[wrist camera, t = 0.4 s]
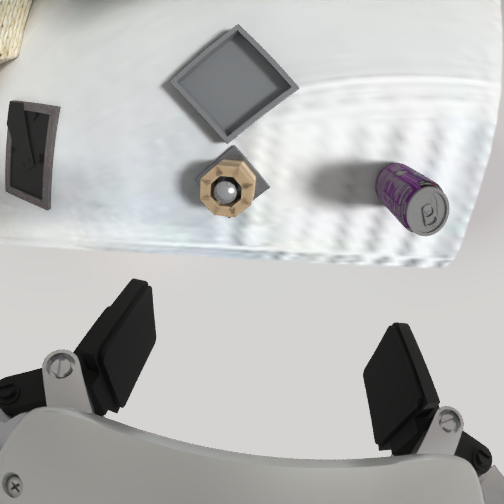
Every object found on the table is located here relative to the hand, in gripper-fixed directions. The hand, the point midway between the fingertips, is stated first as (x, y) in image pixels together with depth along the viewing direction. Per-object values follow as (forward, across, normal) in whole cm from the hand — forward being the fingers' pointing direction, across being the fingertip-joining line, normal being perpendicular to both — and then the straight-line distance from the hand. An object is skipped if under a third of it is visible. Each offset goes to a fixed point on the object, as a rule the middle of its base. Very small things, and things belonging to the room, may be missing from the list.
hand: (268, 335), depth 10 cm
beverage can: (+34, -18, -2) cm, 38 cm away
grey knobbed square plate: (+33, +7, +3) cm, 34 cm away
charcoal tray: (+33, +8, -12) cm, 36 cm away
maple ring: (+33, +7, +3) cm, 34 cm away
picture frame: (+34, +50, 0) cm, 60 cm away
